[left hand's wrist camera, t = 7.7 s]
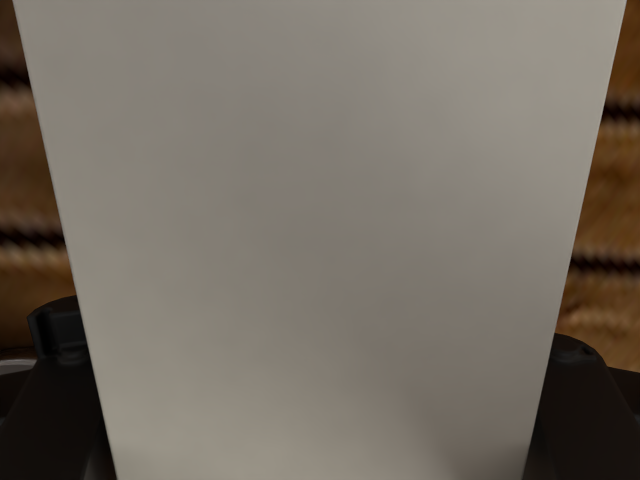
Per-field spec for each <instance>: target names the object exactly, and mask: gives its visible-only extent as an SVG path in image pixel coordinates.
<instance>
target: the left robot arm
mask: <svg viewBox="0 0 640 480" xmlns="http://www.w3.org/2000/svg"><path fill="white" fill-rule="evenodd" d="M27 320H28V324H29V328H30V331H31V335H32V339H33V343H34V346H35V347H28V348H15V349H8V350H4V351H0V480H117V477H116V472H115V468H114V463H113V459H112V454H111V449H110V445H109V440H108V436H107V431H106V426H105V422H104V417H103V413H102V408H101V403H100V399H99V394H98V390H97V385H96V380H95V376H94V371H93V367H92V362H91V358H90V353H89V348H88V344H87V339H86V335H85V330H84V325H83V321H82V316H81V312H80V307H79V302H78V298H77V295H75V296H70V297H64V298H61V299H58V300H55V301H52V302H49V303H46V304H45V305H43V306H41V307H39V308H37V309H35V310H34V311H33V312H32V313H31V314H30V315H29V316H28V317H27ZM522 480H640V373H638V372H633V371H627V370H622V369H616V368H612V367H608V366H607V365H606V364H605V362H604V360H603V358H602V357H601V356H600V355H599V353H598V352H597V351H596V350H595V349H594V348H592V347H590V346H589V345H587V344H586V343H584V342H582V341H580V340H577V339H575V338H572V337H570V336H567V335H562V334H557V333H554V336H553V341H552V345H551V350H550V355H549V359H548V364H547V368H546V373H545V378H544V382H543V387H542V391H541V396H540V401H539V405H538V410H537V414H536V419H535V424H534V428H533V433H532V437H531V442H530V447H529V451H528V456H527V460H526V465H525V470H524V474H523V479H522Z"/></svg>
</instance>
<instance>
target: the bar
mask: <svg viewBox="0 0 640 480" xmlns="http://www.w3.org/2000/svg"><path fill="white" fill-rule="evenodd" d="M626 1H627V0H13V4H14V9H15V13H16V18H17V22H18V27H19V32H20V36H21V41H22V45H23V50H24V55H25V59H26V64H27V68H28V73H29V78H30V82H31V87H32V91H33V96H34V100H35V105H36V110H37V114H38V119H39V123H40V128H41V133H42V137H43V142H44V146H45V151H46V156H47V160H48V165H49V169H50V174H51V179H52V183H53V188H54V192H55V197H56V201H57V206H58V211H59V215H60V220H61V224H62V229H63V234H64V238H65V243H66V247H67V252H68V257H69V261H70V266H71V270H72V275H73V279H74V284H75V289H76V293H77V298H78V302H79V307H80V312H81V316H82V321H83V325H84V330H85V335H86V339H87V344H88V348H89V353H90V358H91V362H92V367H93V371H94V376H95V380H96V385H97V390H98V394H99V399H100V403H101V408H102V413H103V417H104V422H105V426H106V431H107V436H108V440H109V445H110V449H111V454H112V459H113V463H114V468H115V472H116V477H117V480H522V479H523V474H524V470H525V465H526V460H527V456H528V451H529V447H530V442H531V437H532V433H533V428H534V424H535V419H536V414H537V410H538V405H539V401H540V396H541V391H542V387H543V382H544V378H545V373H546V368H547V364H548V359H549V355H550V350H551V345H552V341H553V336H554V332H555V327H556V322H557V318H558V313H559V309H560V304H561V299H562V295H563V290H564V286H565V281H566V277H567V272H568V267H569V263H570V258H571V254H572V249H573V244H574V240H575V235H576V231H577V226H578V221H579V217H580V212H581V208H582V203H583V198H584V194H585V189H586V185H587V180H588V175H589V171H590V166H591V162H592V157H593V152H594V148H595V143H596V139H597V134H598V129H599V125H600V120H601V116H602V111H603V106H604V102H605V97H606V93H607V88H608V83H609V79H610V74H611V70H612V65H613V60H614V56H615V51H616V47H617V42H618V38H619V33H620V28H621V24H622V19H623V15H624V10H625V5H626Z"/></svg>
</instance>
